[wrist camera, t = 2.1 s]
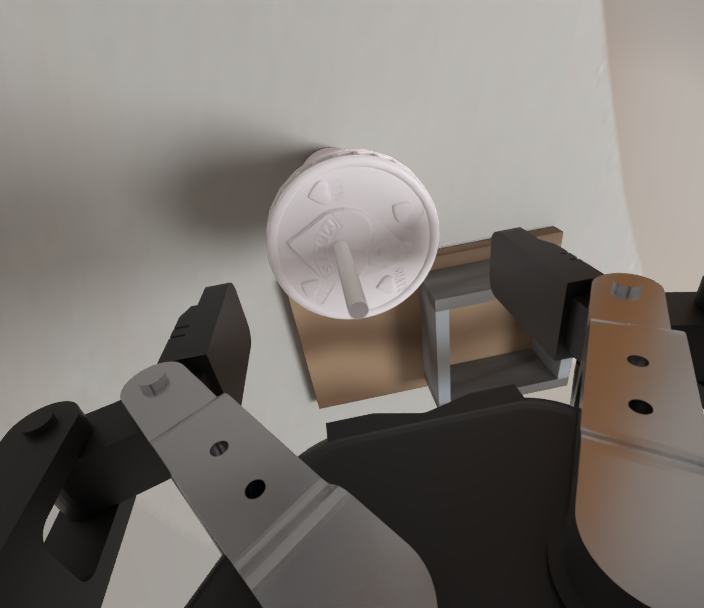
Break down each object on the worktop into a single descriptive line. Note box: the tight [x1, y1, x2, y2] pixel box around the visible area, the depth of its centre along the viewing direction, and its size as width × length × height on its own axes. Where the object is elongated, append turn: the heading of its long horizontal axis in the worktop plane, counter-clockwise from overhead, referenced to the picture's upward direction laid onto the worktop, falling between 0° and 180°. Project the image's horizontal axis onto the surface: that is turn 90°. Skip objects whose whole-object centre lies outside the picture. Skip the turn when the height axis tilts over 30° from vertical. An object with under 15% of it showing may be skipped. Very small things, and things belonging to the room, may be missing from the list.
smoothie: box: [266, 148, 440, 319], centre depth 16 cm, size 6×6×14 cm
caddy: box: [288, 226, 573, 409], centre depth 26 cm, size 11×18×4 cm, turn 99°
